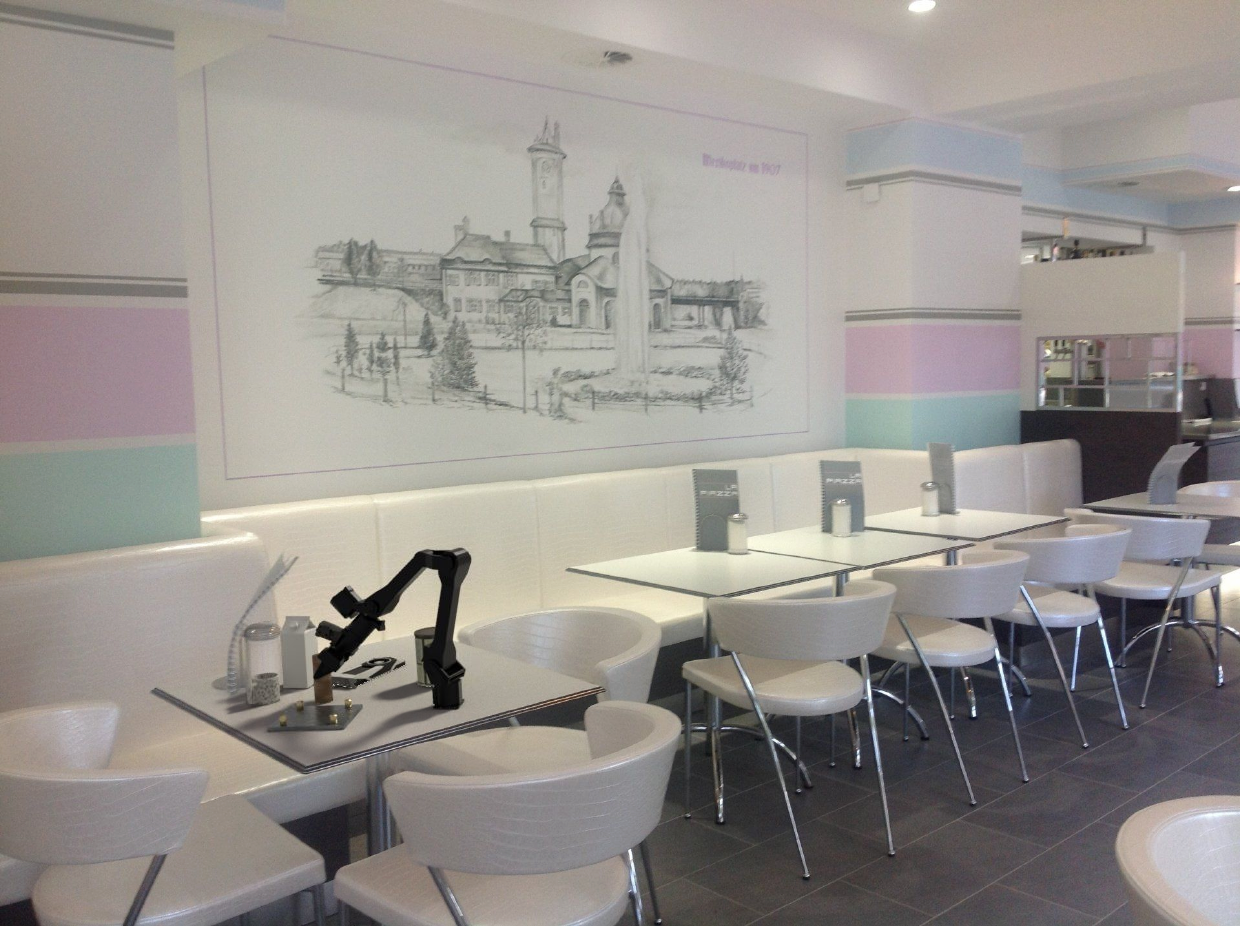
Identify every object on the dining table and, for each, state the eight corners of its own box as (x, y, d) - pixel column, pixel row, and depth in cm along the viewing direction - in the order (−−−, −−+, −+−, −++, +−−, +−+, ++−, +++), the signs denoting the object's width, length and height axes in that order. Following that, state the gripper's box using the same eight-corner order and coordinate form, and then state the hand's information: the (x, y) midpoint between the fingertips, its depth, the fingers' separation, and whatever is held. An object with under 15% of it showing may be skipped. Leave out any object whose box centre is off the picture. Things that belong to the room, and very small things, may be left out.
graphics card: (323, 676, 284) (380, 653, 307) (324, 688, 284) (380, 664, 307) (354, 679, 280) (409, 655, 303) (355, 691, 280) (409, 666, 303)
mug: (265, 696, 277) (263, 671, 277) (285, 698, 275) (284, 673, 274) (238, 707, 268) (236, 682, 267) (259, 710, 265) (257, 684, 265)
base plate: (362, 708, 263) (362, 697, 263) (344, 728, 247) (343, 717, 247) (291, 710, 264) (290, 699, 263) (268, 731, 248) (267, 719, 247)
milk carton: (296, 681, 291) (292, 613, 290) (320, 681, 289) (316, 613, 288) (283, 688, 284) (278, 618, 283) (307, 689, 282) (303, 618, 281)
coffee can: (445, 674, 291) (442, 624, 290) (462, 682, 283) (459, 630, 282) (410, 681, 285) (407, 630, 284) (426, 689, 277) (423, 636, 276)
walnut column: (335, 698, 273) (332, 652, 272) (329, 703, 268) (326, 657, 267) (318, 698, 273) (315, 652, 272) (312, 703, 269) (309, 657, 268)
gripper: (343, 603, 278) (304, 645, 279) (323, 618, 260) (281, 664, 260) (375, 631, 279) (336, 674, 280) (357, 648, 260) (315, 694, 261)
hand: (317, 675), depth 270 cm, fingers closed on walnut column, 4 cm apart
